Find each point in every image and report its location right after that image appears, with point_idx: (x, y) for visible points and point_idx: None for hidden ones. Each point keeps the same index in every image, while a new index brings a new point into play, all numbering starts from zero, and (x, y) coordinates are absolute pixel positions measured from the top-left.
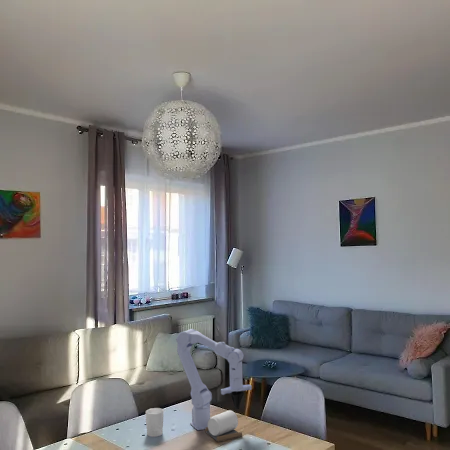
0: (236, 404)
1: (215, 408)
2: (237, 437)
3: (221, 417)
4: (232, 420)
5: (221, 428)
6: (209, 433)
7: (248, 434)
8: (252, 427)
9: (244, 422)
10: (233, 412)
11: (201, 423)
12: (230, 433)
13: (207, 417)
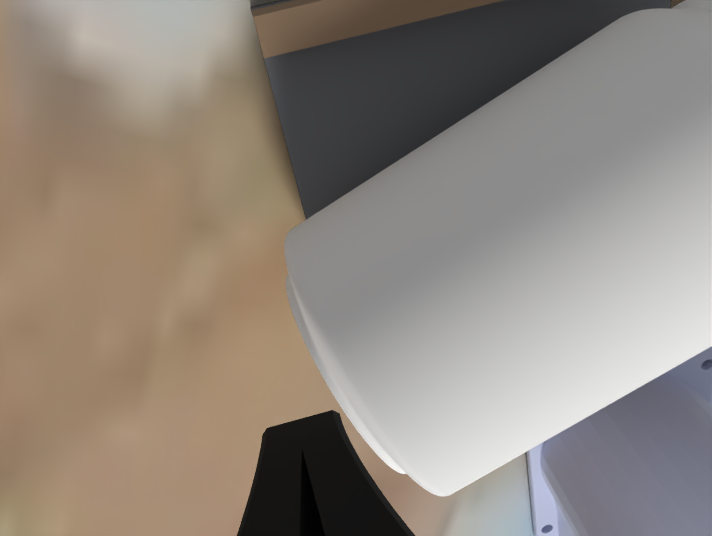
0: (365, 481)
1: None
2: None
3: (706, 188)
4: (422, 205)
5: (667, 12)
6: None
7: (130, 74)
8: (29, 315)
9: (122, 474)
10: (378, 394)
11: (696, 407)
12: (407, 134)
13: (658, 467)
